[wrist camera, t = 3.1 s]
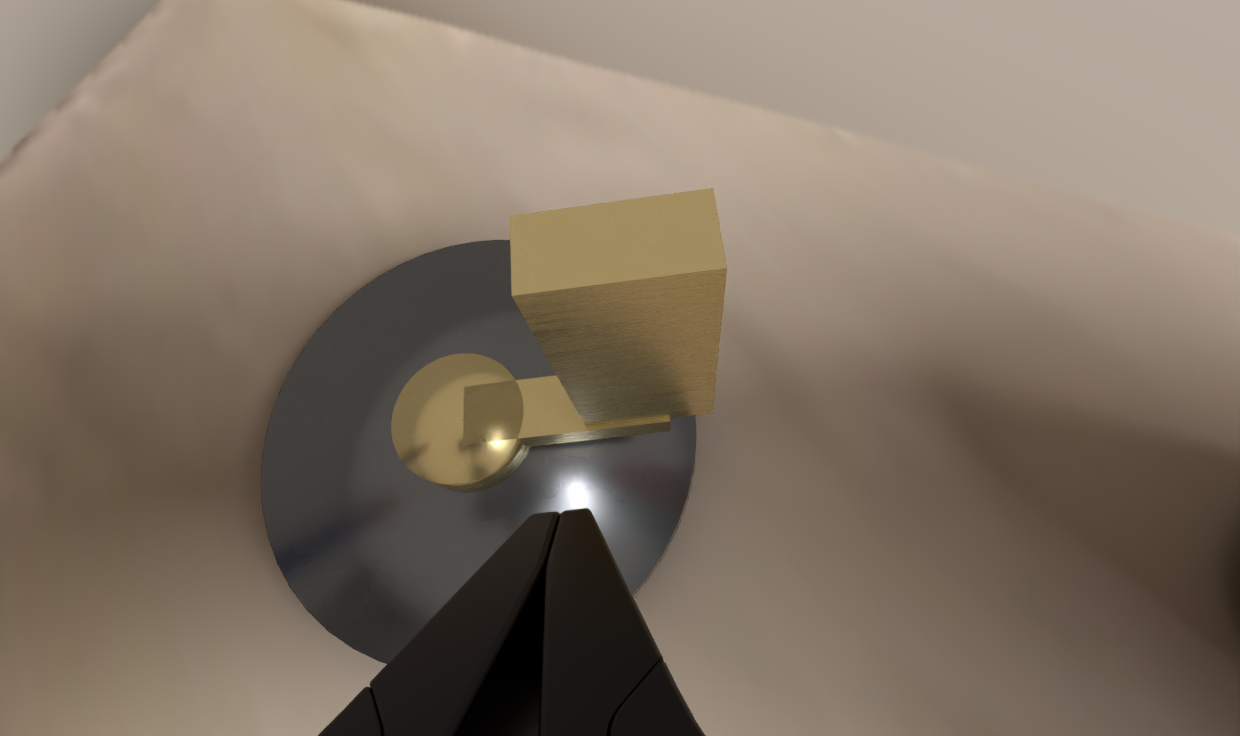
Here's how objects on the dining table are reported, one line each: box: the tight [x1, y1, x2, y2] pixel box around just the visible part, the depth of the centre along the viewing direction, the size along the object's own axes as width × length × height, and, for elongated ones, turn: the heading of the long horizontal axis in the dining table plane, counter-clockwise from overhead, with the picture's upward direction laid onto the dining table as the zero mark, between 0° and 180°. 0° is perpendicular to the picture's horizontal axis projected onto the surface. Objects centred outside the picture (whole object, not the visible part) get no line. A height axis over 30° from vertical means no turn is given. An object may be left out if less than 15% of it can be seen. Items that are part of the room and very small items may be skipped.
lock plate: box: [261, 240, 696, 664], centre depth 20 cm, size 14×14×1 cm
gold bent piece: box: [391, 188, 727, 493], centre depth 15 cm, size 9×4×9 cm, turn 95°
